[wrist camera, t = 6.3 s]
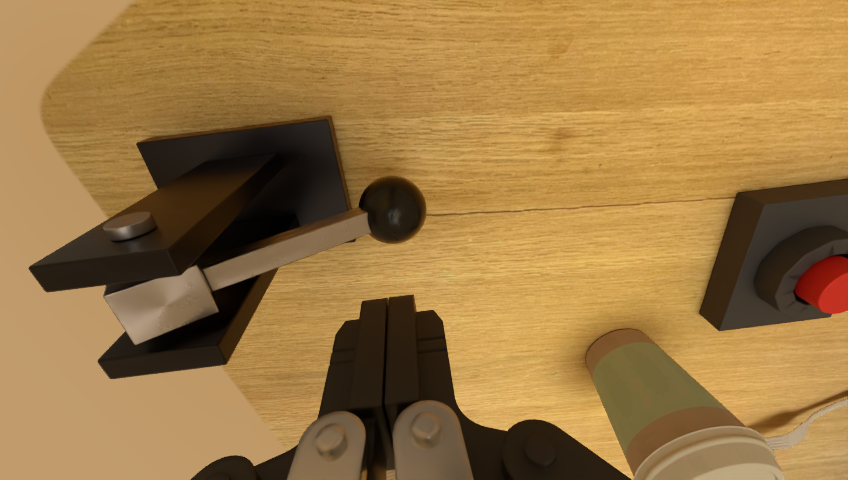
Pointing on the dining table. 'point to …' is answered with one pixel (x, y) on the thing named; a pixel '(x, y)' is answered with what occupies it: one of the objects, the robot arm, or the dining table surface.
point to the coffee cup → (672, 417)
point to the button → (825, 285)
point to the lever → (263, 260)
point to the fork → (801, 428)
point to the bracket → (205, 229)
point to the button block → (775, 253)
